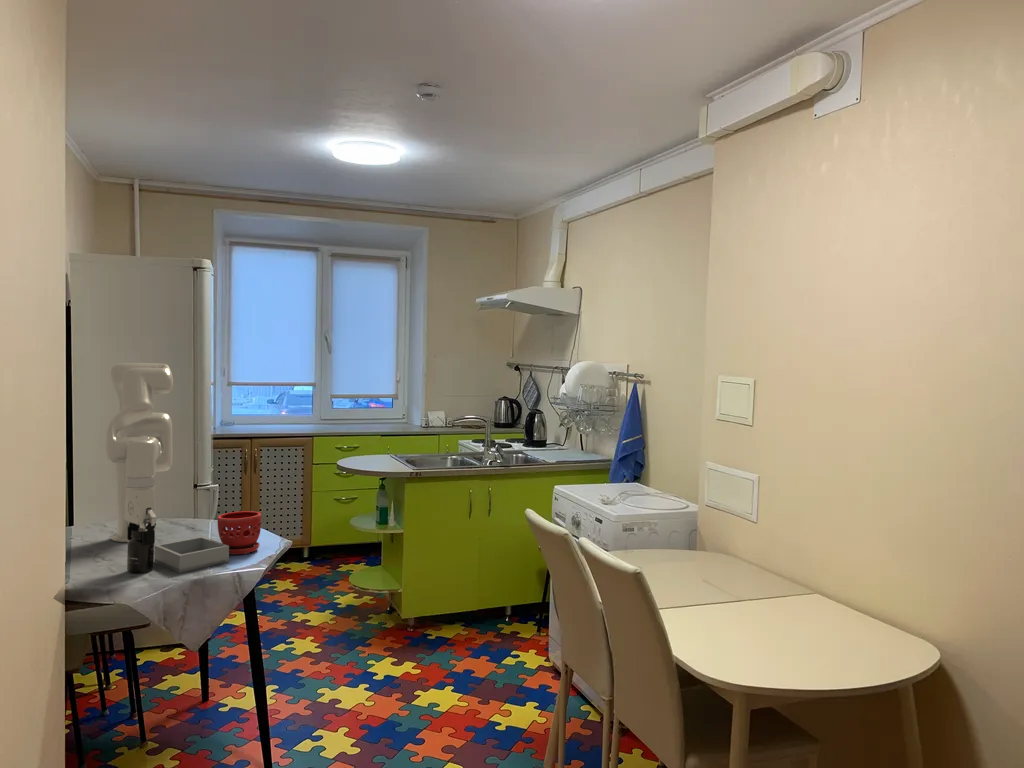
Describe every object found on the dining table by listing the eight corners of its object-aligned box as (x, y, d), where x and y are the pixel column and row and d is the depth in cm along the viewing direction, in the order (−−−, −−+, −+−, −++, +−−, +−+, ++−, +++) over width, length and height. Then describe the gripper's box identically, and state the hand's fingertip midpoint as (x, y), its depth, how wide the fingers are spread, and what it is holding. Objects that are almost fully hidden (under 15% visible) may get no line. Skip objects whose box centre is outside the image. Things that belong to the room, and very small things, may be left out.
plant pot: (267, 546, 232) (267, 510, 232) (251, 557, 219) (251, 519, 218) (228, 545, 232) (228, 509, 232) (209, 556, 219) (210, 518, 219)
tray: (154, 561, 212) (154, 545, 212) (202, 552, 223) (202, 536, 223) (179, 573, 202) (179, 555, 202) (228, 562, 213) (229, 545, 213)
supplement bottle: (125, 575, 199) (126, 533, 198) (128, 568, 205) (128, 527, 204) (153, 573, 201) (153, 531, 201) (154, 566, 208) (154, 526, 207)
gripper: (114, 480, 205) (114, 539, 205) (140, 487, 194) (140, 549, 194) (141, 478, 210) (141, 535, 211) (168, 484, 199) (168, 544, 200)
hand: (140, 541), depth 202 cm, fingers open, 9 cm apart
